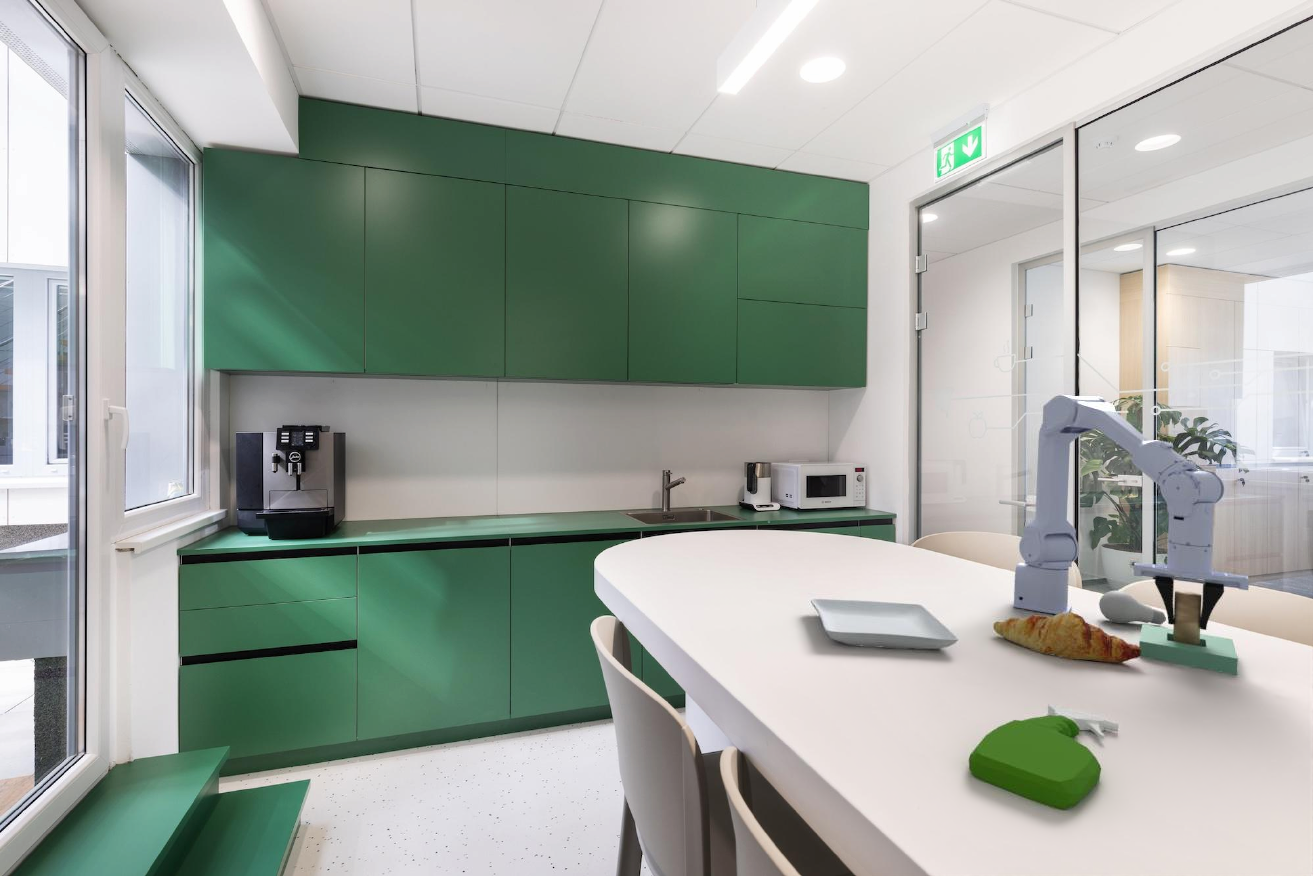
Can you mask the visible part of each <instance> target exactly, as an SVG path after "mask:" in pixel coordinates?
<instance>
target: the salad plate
mask: <svg viewBox="0 0 1313 876" xmlns="http://www.w3.org/2000/svg"><path fill="white" fill-rule="evenodd" d="M810 603H811V604H812V606H813V608H814V609H815V611H816V612H817V613H818V615H819V617H820V619H821V620H820V621H821V623H822V625H823V629H824V630H825V632H826V634H827V635H828V637H829V638H831V639H832V640H834V641H836V642H840V643H842V644H845V645H850V646H857V645H863V646H862V647H872V646H882V647H881V648H888V647H893V648H892V649H907V648H914V649H913V650H938V649H944V648H948V647H951V646H953V645H955V644H956V643H957V642H958V641H959V638H958V637H957V635H956V634H955V633H953V632H952V631H951V630H950V629H949V628H948V627H947V626H946V625H945V624H944V623H943V622H941V621H940V620H939V619H938V618H937V617H936V616H934V615H933V614H932V613H931V612H930V611H929V610H928V609H927V608H926V607H924V605H922V604H918V603H902V602H887V601H871V600H869V601H868V600H851V599H850V600H849V599H830V598H829V599H827V598H826V599H824V598H812V599H810Z"/></svg>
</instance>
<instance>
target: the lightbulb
mask: <svg viewBox="0 0 1313 876" xmlns="http://www.w3.org/2000/svg"><path fill="white" fill-rule="evenodd" d="M1098 605H1099V610H1100V612H1101V614H1102V616H1104V617H1105V618H1106V619H1107V620H1109V621H1110V622H1112V623H1116V624H1127V623H1134V622H1139V623H1140V622H1141V623H1144V624H1149V623H1151V624H1154V625H1159V626H1160V625H1163V624H1164V623H1165V622H1166V621H1167V617H1166V616H1165V613H1164V612H1163V611H1161V610H1159V609H1154V608H1152V607H1151V606H1149V605H1145V603H1144V604H1143V603H1141V602H1139V601H1138V600H1137V599H1135V598H1134V597H1133V596H1132V595H1130V594H1129V593H1128V592H1125V591H1122V590H1110V591H1108V592H1106V593H1104V594H1103V595H1102V596H1101V597H1100V599H1099V602H1098Z"/></svg>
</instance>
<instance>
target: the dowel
mask: <svg viewBox="0 0 1313 876" xmlns="http://www.w3.org/2000/svg"><path fill="white" fill-rule="evenodd" d="M1202 597H1203V594H1200V593H1197V592H1192V591H1186V590H1175V591H1174V602H1173V611H1174V625H1173V628H1172V629H1173V642H1179V643H1184V644H1190V645H1196V646H1200V634H1201V629H1200V621H1201V612H1202Z"/></svg>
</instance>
